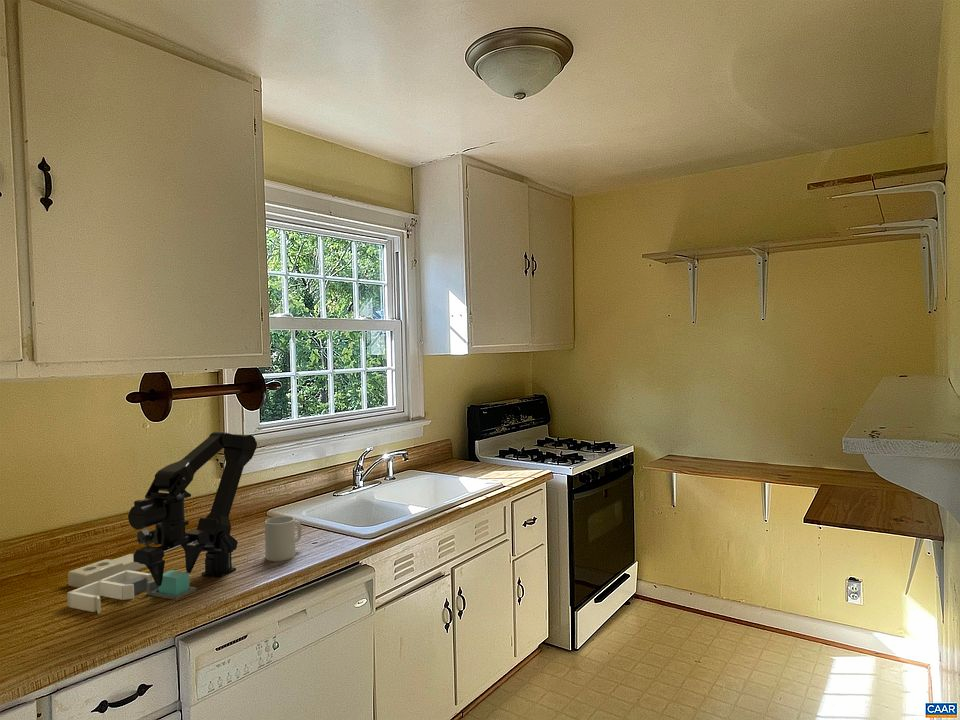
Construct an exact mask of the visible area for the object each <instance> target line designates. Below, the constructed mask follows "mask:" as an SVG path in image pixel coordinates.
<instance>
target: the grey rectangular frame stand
mask: <svg viewBox="0 0 960 720" xmlns="http://www.w3.org/2000/svg"><path fill="white" fill-rule="evenodd" d="M146 584H147V588H146V595H147V596H152V597H158V598H164V599H170V600H175V601H177V600H179V599H181V598H183V597H185V596H188V595H190V594H192V593H194V592H196V591H197V586H196V587H195V586H190V585H189V590H187V591H185V592H182V593H180V594H178V595H172V594H166V593H161V592H159V586H157V585H156V583H155V581H154V579H152V581H150V582H148V583H146Z"/></svg>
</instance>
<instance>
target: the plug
mask: <svg viewBox="0 0 960 720" xmlns="http://www.w3.org/2000/svg"><path fill="white" fill-rule="evenodd" d="M189 586H190V573H187V571H186V572H185V571H182V570H181V571H180V570H173V569H171V570H168V571H166V572H163V579H162V584H161V586H159V592H161V593H166V594H172V595H178V594H180V593H182V592H185V591H187V590H189Z"/></svg>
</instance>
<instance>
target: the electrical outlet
mask: <svg viewBox="0 0 960 720" xmlns="http://www.w3.org/2000/svg"><path fill="white" fill-rule="evenodd" d="M133 554H134V553H128V554H126V555H123V556H120V557H117V558H114V559H110V558H109V559H107V558H105V559H103V560H99V561H96V562H94V563H93V562H92V563H90V564H87V565H84V566H82V567H79V568H75V569H72V570H70V571H68V572H67V581H68V582H67V583H68V586H69V587H75V588H77V589H78V588H81V587H83V586H86V585H88V584H91V583H94V582H96V581H99V580H102V579H104V578H107V577H109V576H112V575H115V574H117V573H120V572H122V571H125V570H131V571H139V570H142V569H144V568H148V567H147V566H146V565H144V564H139V563H138V562H134V560H133Z"/></svg>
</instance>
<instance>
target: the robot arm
mask: <svg viewBox="0 0 960 720" xmlns="http://www.w3.org/2000/svg"><path fill="white" fill-rule="evenodd" d="M257 447H258V442H257V440H256V438H255V437H254V435H252V434H240V433H239V434H238V433H237V434H235V433H234V434H232V433H229V432H227V431H214V432H211V433H210V434H209V436H208V437H206V439H205V440H203V441H202V442H201V443H200V444H199V445H197V446H196V447H195V448H194V449H193V450H191V451H190V452H189V453H187V454H186V456H184V457H183V458H182V459H180V460H179V461H176V462H173V463H170V464H168V465H165V466H164V467H162V468H160V469H159V470H158V471H157V472H156V473H155V474H154V479H153V480H152V482H151V484H150V486H149V488H148V490H147V492H146V494H145V495H144V499H137V500H134V501H133V506H132V507H131V508H130V509H129V513H128V515H127V518H128V519H127V520H128V522H129V525H130V526H131V528H132V529H134V530H136V531H137V536H136V538H137V543H138V544H140V545H142V544H144V547H141V548H138V549H136V550H134V552H133V553H132V554H133V560H134V562H138V563H139V564H144V565H146V566H147V567H146V568H147V569H148V571H149V573H150V574H151V576H152V578H153V579H152V580H154V581H155V583H156V585H157V586H161V584H162V579H163V573H165V572H164V569H165V563H166V559H163V558H164V557H165V553H168V552H170V551H174V550H176V549H178V548H180V547H182V549H183V550H184V555H185V570H186V572H187V573H189V574H190V573H192V571H193V570H194V567H195V565H196V562H197V561H198V558H199V556H200V555H201V552H205V558H204V570H205V571H203V572H201V575H202V576H208V577H214V578H221V577H223V576H225V575H227V574H229V573H232V572H234V571H236V570H237V567H234V566H232V560H233V559H232V553H234V551H236V550H237V546H238V540H236V538H234V536H232V535H231V530H232V525H231V522H230V513H231V510H232V506H233V503H234V500H235V497H236V494H237V491H238V487H239V483H240V480H241V478H242V474H243V470H244V467H245V466H246V465H247V464H248V463H249V462H250V461H251V460H252V459H253V457H254V454H255V452H256V450H257ZM223 449H224V450H223ZM222 450H223V455H224V461H225V465H224V469H223V471H222V474H221V476H220V477H221V478H220V480H219V484H218V487H217V491H216V493H215V497H214V500H213V503H212V505H211V510H210V512H209V513H208V514H207V515H206V516H205V517H200V518H199V519H198V523H197V526H196V529H195V528H194V529H190V530H188V531H186V526H189V525H190V523H189V520H187V519H186V517H185V515H186V511H185V499H188V498H190V497H192V494H191V493H190V492H189V491H187V490H186V489H187V488H188V486H190V484H191V483H192V482H193V480H194V477H195V474H196V472H198V471H199V470H200V469H201V468H202V467H204V465H206V464H207V463H208V462H209V461H210V460H211V459H213V457H214V456H216V455H217V454H218V453H219V452H220V451H222ZM151 526H155V528H154V530H151V531H149V529H148V527H151ZM142 529H143V530H142ZM138 530H139V531H138ZM153 543H154V545H156V546H151V544H153ZM158 545H160V546H158Z"/></svg>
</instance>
